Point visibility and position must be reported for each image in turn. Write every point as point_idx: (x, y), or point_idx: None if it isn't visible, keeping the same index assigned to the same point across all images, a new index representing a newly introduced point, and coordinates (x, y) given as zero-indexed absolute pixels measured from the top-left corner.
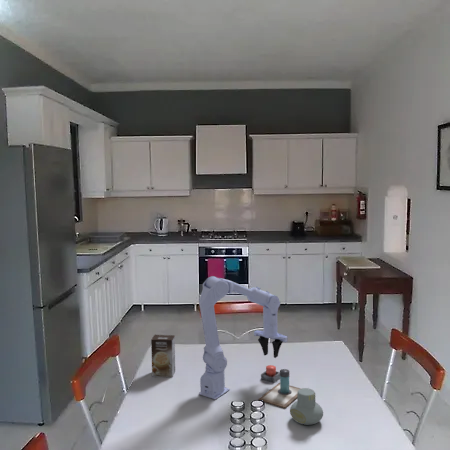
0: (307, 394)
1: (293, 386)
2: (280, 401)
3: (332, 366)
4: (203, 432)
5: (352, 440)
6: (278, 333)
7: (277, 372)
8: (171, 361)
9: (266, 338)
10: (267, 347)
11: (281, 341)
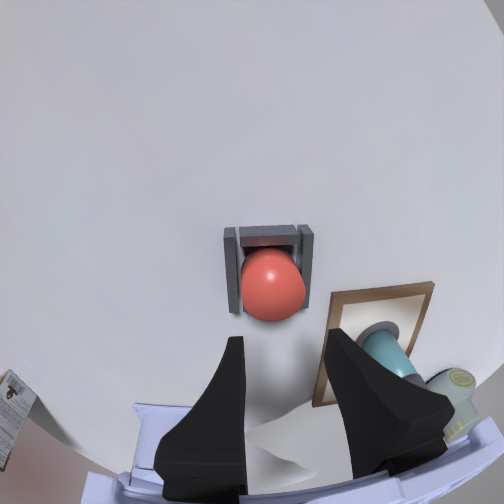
0: (464, 434)
1: (396, 289)
2: None
3: (438, 3)
4: (272, 478)
5: (491, 369)
6: (429, 494)
7: (295, 243)
8: (21, 427)
9: (244, 478)
10: (241, 379)
11: (435, 434)
